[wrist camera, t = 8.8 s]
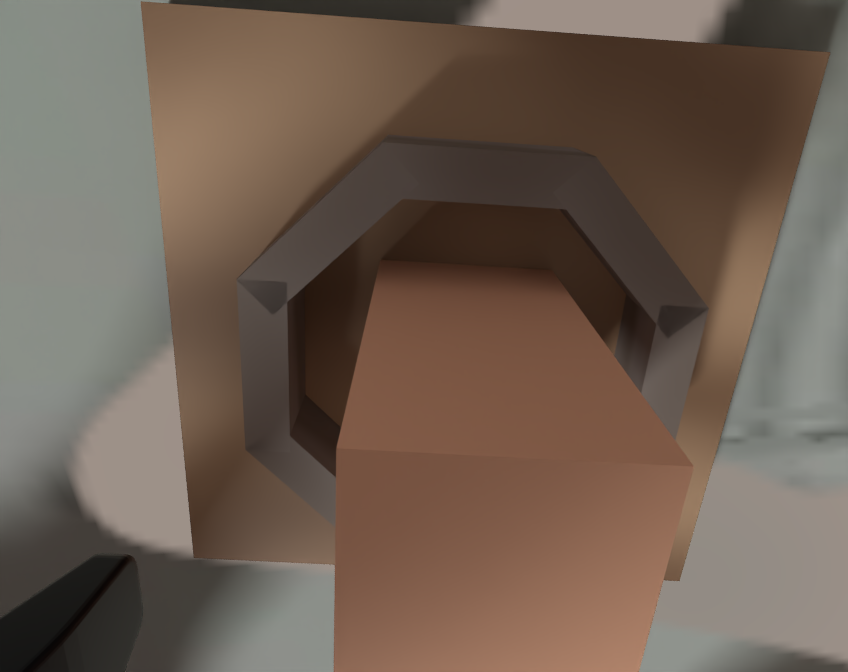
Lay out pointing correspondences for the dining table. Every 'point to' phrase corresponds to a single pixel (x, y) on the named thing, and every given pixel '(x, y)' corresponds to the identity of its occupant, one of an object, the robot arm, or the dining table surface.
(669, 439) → the terracotta block
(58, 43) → the dining table surface
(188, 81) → the socket board
